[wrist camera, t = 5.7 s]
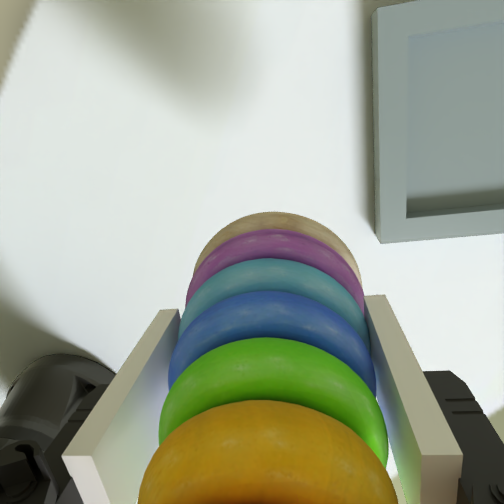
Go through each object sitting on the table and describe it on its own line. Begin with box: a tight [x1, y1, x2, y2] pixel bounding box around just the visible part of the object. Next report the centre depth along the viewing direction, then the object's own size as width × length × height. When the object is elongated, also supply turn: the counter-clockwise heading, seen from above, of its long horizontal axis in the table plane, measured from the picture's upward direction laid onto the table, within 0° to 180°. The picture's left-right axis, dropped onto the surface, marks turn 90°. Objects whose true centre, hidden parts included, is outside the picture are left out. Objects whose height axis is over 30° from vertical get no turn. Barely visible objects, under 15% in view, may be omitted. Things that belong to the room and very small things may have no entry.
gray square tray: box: [371, 0, 504, 244], centre depth 27 cm, size 17×17×2 cm
